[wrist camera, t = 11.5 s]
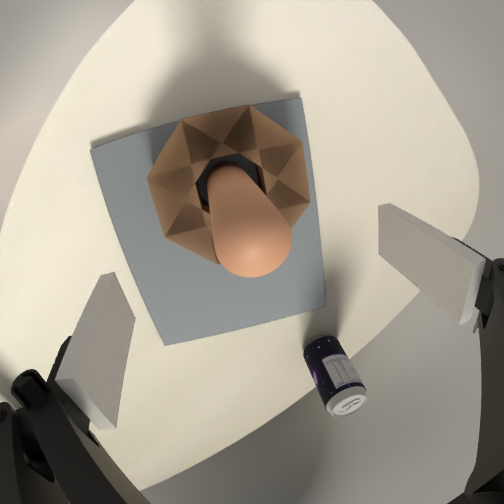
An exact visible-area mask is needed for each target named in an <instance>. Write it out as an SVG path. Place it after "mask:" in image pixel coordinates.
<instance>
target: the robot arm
mask: <svg viewBox="0 0 504 504" xmlns="http://www.w3.org/2000/svg"><path fill="white" fill-rule="evenodd" d="M378 220H379V255H380V256H381V257H383V258H384V259H385V260H386V261H387V262H388V263H390V264H391V265H392V266H393V267H394V268H396V269H397V270H398V271H399V272H400V273H401V274H403V275H404V276H405V277H406V278H407V279H408V280H410V281H411V282H412V283H413V284H414V285H415V286H416V287H418V288H419V289H420V290H421V291H422V292H423V293H424V294H425V295H426V296H428V297H429V298H430V299H431V300H432V301H433V302H434V303H435V304H437V306H439V307H440V308H441V309H442V310H443V311H444V312H445V313H446V314H447V315H448V316H449V317H450V318H451V319H452V320H454V322H456V323H457V324H458V325H461V324H463V323H465V322H466V321H468V320H470V319H471V317H472V314H473V310H474V307H476V308H477V309H478V310H480V311H479V314H478V318H477V321H476V324H475V327H474V330H473V333H475V332H476V329H477V328H478V327H479V336H480V348H481V349H480V350H481V372H482V396H481V419H480V432H479V442H478V451H477V458H476V464H475V467H474V470H473V472H472V473H471V475H470V477H469V479H468V482H467V484H466V487H465V491H464V493H462V494H461V495H460V496H458V497H456V498H455V499H453V500H452V501H451V502H449V503H448V504H504V259H503V258H501V259H500V258H499V259H496V260H494V261H491V260H490V259H488V258H487V257H485V256H484V255H482V254H481V253H479V252H478V251H476V250H474V249H472V248H471V247H470V246H468V245H465V243H463V242H462V241H460V240H458V239H456V238H453V237H450V236H448V235H447V234H445V233H443V232H442V231H440V230H438V229H437V228H435V227H433V226H431V225H430V224H428V223H426V222H424V221H422V220H421V219H419V218H417V217H415V216H413V215H411V214H410V213H408V212H406V211H404V210H402V209H400V208H398V207H396V206H395V205H393V204H391V203H389V204H384V205H380V206H378ZM135 319H136V318H135V316H134V314H133V312H132V310H131V308H130V305H129V303H128V301H127V299H126V297H125V295H124V293H123V290H122V288H121V286H120V284H119V281H118V279H117V277H116V274H115V272H112V273H108V274H104V275H101V276H100V278H99V280H98V282H97V284H96V286H95V288H94V290H93V292H92V294H91V296H90V298H89V300H88V302H87V304H86V306H85V308H84V311H83V313H82V315H81V317H80V319H79V321H78V324H77V326H76V328H75V330H74V333H73V335H72V336H69V337H68V338H67V339H66V340H65V341H64V343H63V344H62V345H61V347H60V350H59V352H58V356H57V357H56V359H55V363H54V364H53V367H52V369H51V372H50V374H49V377H48V379H47V382H45V380H44V379H43V378H42V377H41V375H40V374H39V373H38V372H37V371H36V370H34V369H30V370H26V371H24V372H23V373H21V374H20V375H19V376H18V377H17V378H16V379H15V381H14V382H13V384H12V387H11V394H12V395H13V396H14V397H15V398H16V399H17V400H18V402H19V403H20V404H21V405H22V406H23V408H20V409H17V410H14V409H13V408H12V407H11V405H10V404H9V403H8V402H1V403H0V504H69V502H70V504H151V503H150V502H149V501H148V500H147V499H146V498H145V497H144V496H143V495H142V494H141V493H140V491H139V490H138V489H137V488H136V487H135V486H134V485H133V484H132V483H131V481H130V480H129V479H128V478H127V477H126V476H125V474H124V473H123V472H122V471H121V470H120V468H119V467H118V466H117V465H116V463H115V462H114V461H113V460H112V458H111V457H110V456H109V455H108V453H107V452H106V451H105V449H104V448H103V447H102V445H101V444H100V442H99V441H98V440H97V438H96V437H95V435H94V434H93V433H92V432H91V431H90V430H89V423H90V421H91V422H92V423H93V424H94V425H95V426H96V427H97V428H98V429H116V427H117V419H118V412H119V405H120V398H121V391H122V385H123V379H124V373H125V368H126V362H127V357H128V352H129V347H130V342H131V337H132V332H133V328H134V323H135Z"/></svg>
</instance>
